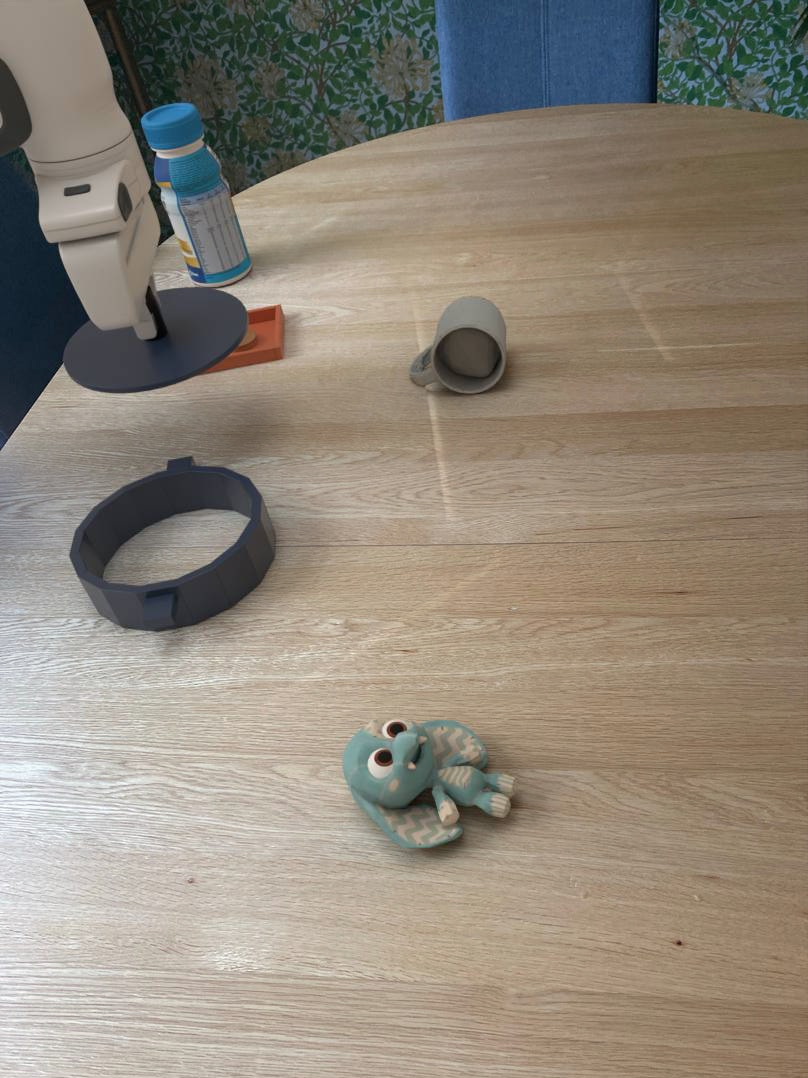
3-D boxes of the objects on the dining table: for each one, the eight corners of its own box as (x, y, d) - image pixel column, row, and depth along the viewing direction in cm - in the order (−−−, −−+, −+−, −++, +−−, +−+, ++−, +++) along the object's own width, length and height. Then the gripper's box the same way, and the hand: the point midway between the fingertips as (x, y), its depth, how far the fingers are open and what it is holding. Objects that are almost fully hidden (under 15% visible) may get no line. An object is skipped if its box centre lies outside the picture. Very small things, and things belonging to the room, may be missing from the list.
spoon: (157, 368, 117) (151, 352, 115) (160, 352, 119) (154, 337, 118) (257, 348, 116) (252, 333, 115) (258, 333, 119) (253, 318, 118)
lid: (54, 414, 91) (26, 359, 87) (81, 316, 104) (58, 263, 99) (248, 379, 91) (229, 322, 87) (253, 284, 104) (236, 230, 99)
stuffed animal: (494, 834, 61) (308, 781, 63) (488, 890, 66) (317, 840, 68) (538, 699, 68) (369, 655, 70) (530, 760, 73) (373, 717, 75)
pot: (75, 673, 84) (49, 631, 80) (111, 509, 99) (90, 468, 96) (274, 636, 84) (257, 592, 80) (279, 477, 99) (264, 435, 96)
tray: (135, 391, 115) (128, 375, 113) (145, 346, 122) (138, 331, 120) (284, 363, 114) (279, 346, 113) (285, 320, 122) (280, 303, 120)
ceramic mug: (510, 348, 110) (500, 282, 104) (510, 390, 104) (500, 322, 99) (415, 361, 111) (400, 296, 106) (409, 403, 105) (393, 336, 100)
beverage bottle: (235, 290, 129) (180, 125, 115) (179, 289, 132) (118, 127, 117) (265, 259, 134) (216, 97, 120) (210, 258, 137) (156, 99, 123)
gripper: (76, 140, 93) (131, 281, 103) (34, 233, 79) (103, 387, 89) (143, 128, 93) (192, 271, 103) (114, 218, 79) (174, 374, 89)
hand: (151, 325), depth 96 cm, fingers closed on lid, 2 cm apart
